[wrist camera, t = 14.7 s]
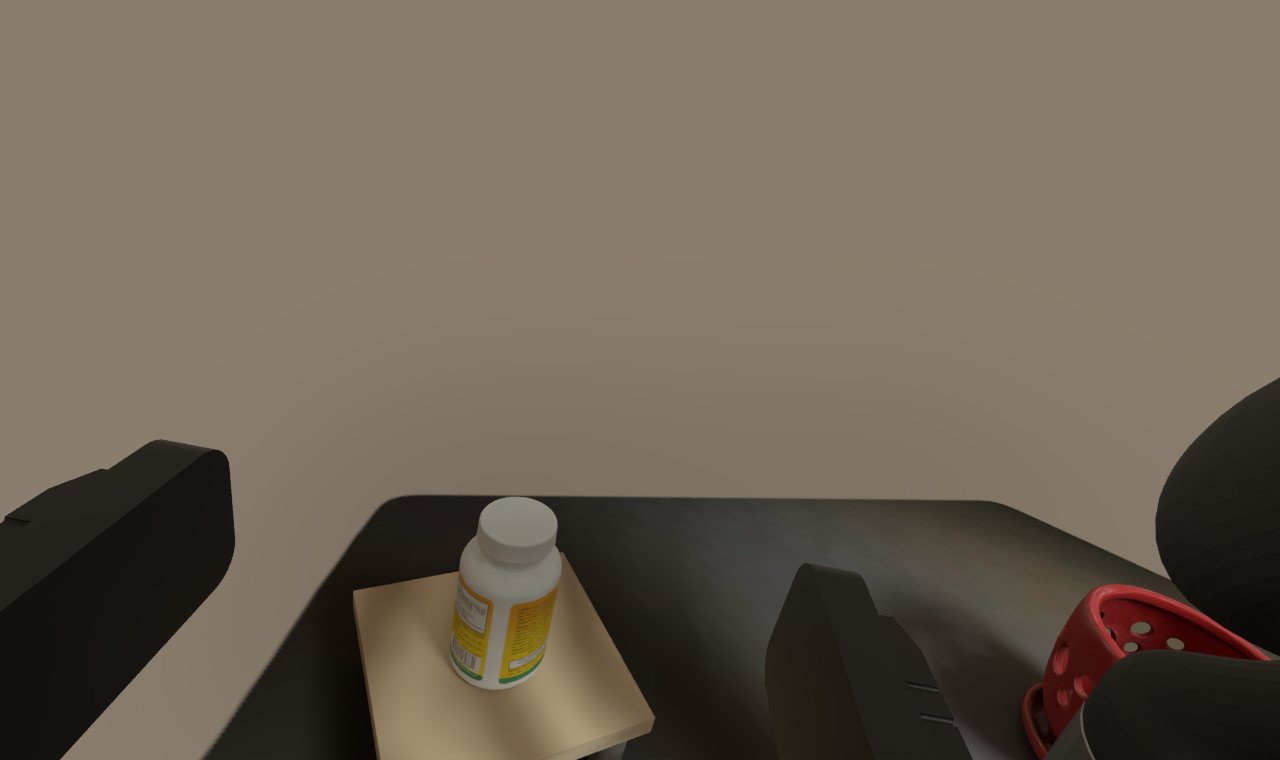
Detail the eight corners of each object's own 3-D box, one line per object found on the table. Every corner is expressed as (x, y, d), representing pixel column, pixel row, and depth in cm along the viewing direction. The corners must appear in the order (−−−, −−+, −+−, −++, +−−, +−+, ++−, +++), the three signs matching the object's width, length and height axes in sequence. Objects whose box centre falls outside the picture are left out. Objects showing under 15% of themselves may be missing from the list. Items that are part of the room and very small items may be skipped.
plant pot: (988, 767, 43) (1073, 641, 38) (1025, 666, 53) (1096, 556, 48) (1223, 937, 36) (1364, 809, 31) (1215, 785, 46) (1322, 669, 41)
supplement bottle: (437, 687, 34) (451, 545, 30) (462, 611, 39) (477, 481, 35) (538, 700, 34) (565, 562, 31) (549, 623, 39) (574, 497, 35)
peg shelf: (552, 605, 48) (562, 552, 46) (636, 776, 37) (655, 717, 35) (351, 651, 41) (353, 590, 39) (384, 879, 30) (389, 812, 28)
